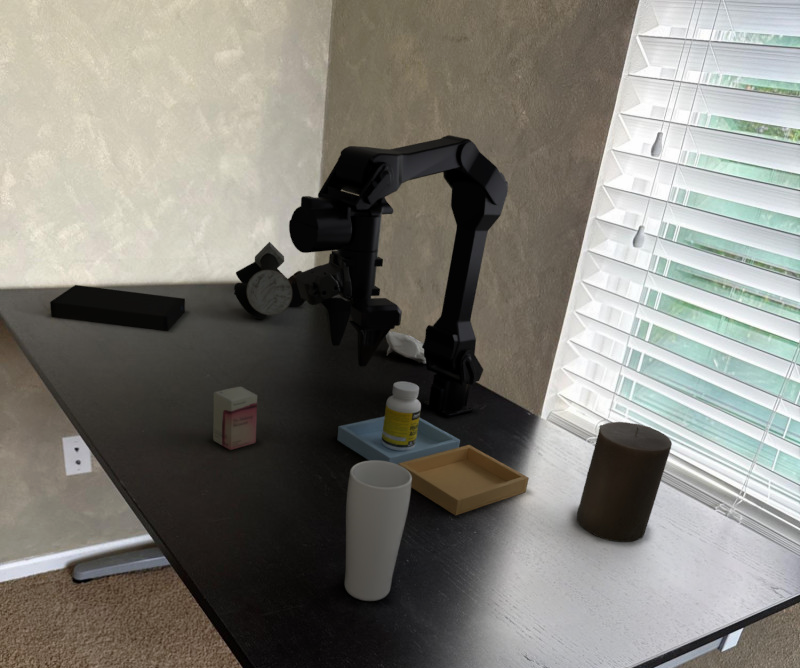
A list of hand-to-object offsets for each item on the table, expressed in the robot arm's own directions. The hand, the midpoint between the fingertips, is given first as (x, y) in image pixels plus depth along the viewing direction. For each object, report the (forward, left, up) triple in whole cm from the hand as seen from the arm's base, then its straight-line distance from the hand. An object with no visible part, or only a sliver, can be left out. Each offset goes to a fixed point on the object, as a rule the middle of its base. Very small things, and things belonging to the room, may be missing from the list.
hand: (348, 355), depth 121 cm
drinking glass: (+22, +35, -14) cm, 44 cm away
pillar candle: (-18, +40, -14) cm, 46 cm away
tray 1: (-7, +6, -14) cm, 16 cm away
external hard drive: (+4, -70, -14) cm, 72 cm away
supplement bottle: (-7, +6, -14) cm, 16 cm away
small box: (+15, -6, -14) cm, 22 cm away
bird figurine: (-37, -25, -14) cm, 47 cm away
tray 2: (-7, +21, -14) cm, 26 cm away
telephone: (-29, -65, -14) cm, 73 cm away
